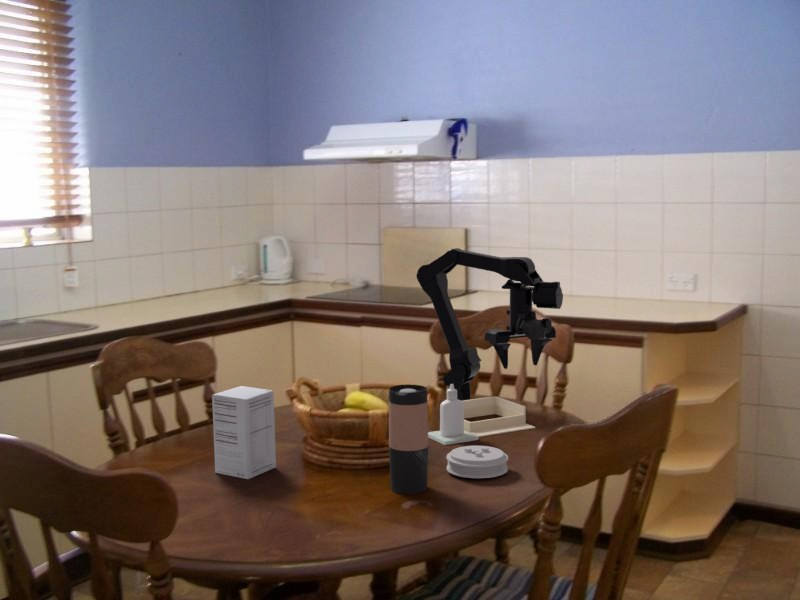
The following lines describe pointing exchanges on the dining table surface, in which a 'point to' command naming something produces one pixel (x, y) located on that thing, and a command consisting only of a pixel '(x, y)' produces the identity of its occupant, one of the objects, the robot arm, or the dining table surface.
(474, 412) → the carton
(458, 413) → the eye dropper bottle
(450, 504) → the dining table surface
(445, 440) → the coaster
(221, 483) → the dining table surface
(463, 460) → the lid
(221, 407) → the supplement box
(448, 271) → the robot arm
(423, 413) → the travel mug
